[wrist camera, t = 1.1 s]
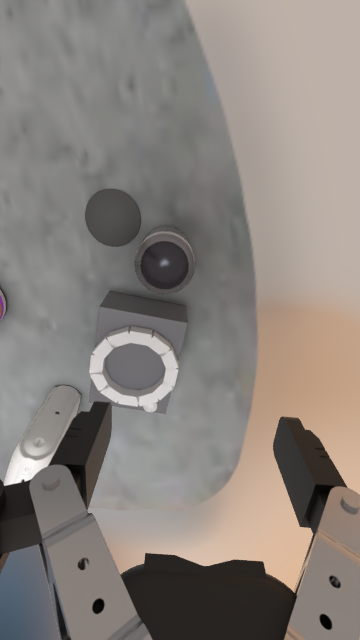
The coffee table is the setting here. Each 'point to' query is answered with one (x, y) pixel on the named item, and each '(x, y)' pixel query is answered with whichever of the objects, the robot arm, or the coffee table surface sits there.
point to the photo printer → (43, 435)
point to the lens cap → (112, 217)
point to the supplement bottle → (2, 305)
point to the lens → (165, 260)
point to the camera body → (136, 352)
